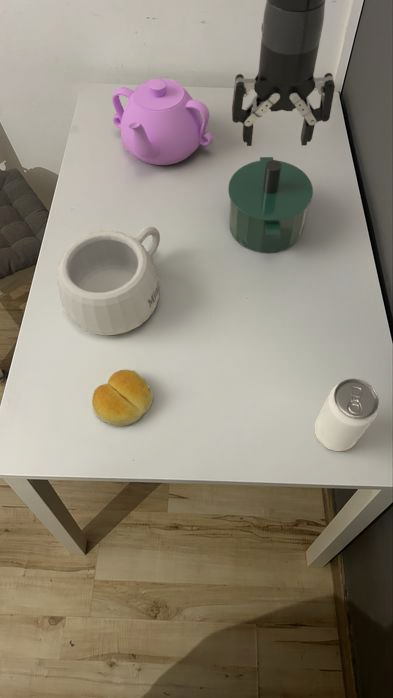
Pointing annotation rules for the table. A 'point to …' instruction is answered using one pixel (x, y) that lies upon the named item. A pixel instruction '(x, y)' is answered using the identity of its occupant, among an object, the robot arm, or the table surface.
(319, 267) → the table surface
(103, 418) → the bread roll
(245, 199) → the lid
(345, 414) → the can
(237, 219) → the pot
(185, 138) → the teapot
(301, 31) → the robot arm
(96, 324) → the mug
